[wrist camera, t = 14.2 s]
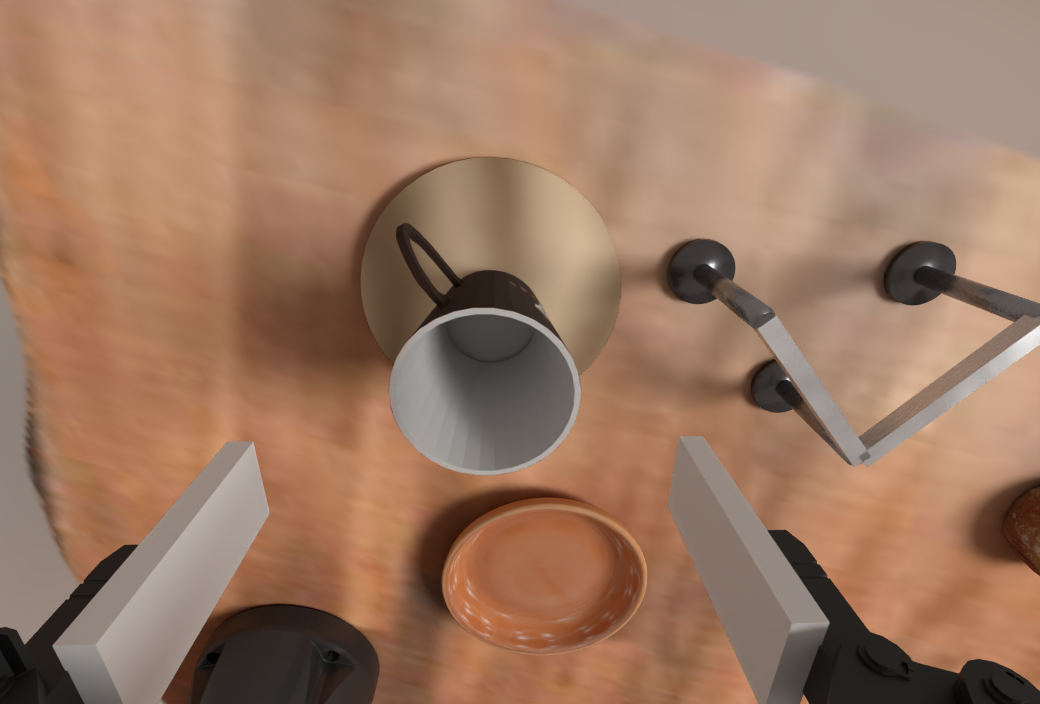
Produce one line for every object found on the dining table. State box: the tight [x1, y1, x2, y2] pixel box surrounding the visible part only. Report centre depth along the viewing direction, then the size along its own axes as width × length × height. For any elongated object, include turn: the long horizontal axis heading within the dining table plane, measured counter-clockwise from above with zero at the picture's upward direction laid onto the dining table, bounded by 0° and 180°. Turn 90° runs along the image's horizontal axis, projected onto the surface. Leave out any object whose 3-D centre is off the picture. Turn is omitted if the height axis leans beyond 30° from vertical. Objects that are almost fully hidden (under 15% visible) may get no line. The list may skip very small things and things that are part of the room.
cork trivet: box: [360, 157, 621, 376], centre depth 32 cm, size 16×16×1 cm
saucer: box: [442, 498, 647, 655], centre depth 41 cm, size 16×16×3 cm
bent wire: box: [668, 239, 1040, 467], centre depth 30 cm, size 18×12×9 cm, turn 89°
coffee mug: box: [389, 223, 581, 475], centre depth 27 cm, size 12×9×10 cm
